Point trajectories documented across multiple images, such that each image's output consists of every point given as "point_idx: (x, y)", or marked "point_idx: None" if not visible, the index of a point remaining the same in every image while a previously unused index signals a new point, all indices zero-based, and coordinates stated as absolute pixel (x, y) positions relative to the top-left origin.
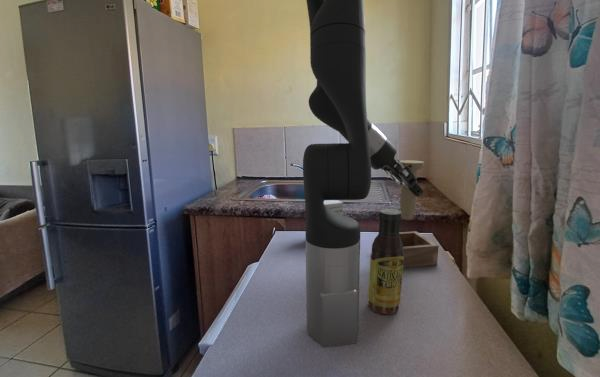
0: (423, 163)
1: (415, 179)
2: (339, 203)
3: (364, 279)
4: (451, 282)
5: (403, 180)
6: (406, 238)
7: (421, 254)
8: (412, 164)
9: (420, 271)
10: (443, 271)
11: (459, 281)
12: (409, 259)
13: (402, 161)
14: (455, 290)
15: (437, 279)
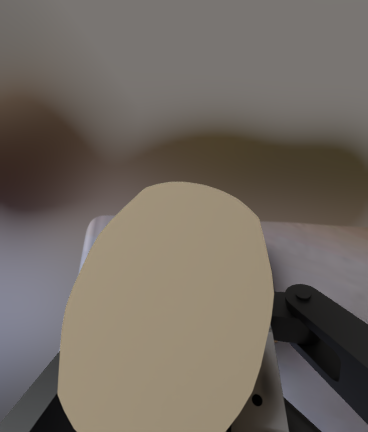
0: (229, 198)
1: (329, 303)
2: None
3: (335, 426)
4: (319, 243)
5: (348, 400)
6: None
7: None
8: (270, 313)
9: (278, 284)
10: (273, 241)
11: (312, 228)
12: None
13: (138, 393)
14: (350, 247)
15: (310, 263)
